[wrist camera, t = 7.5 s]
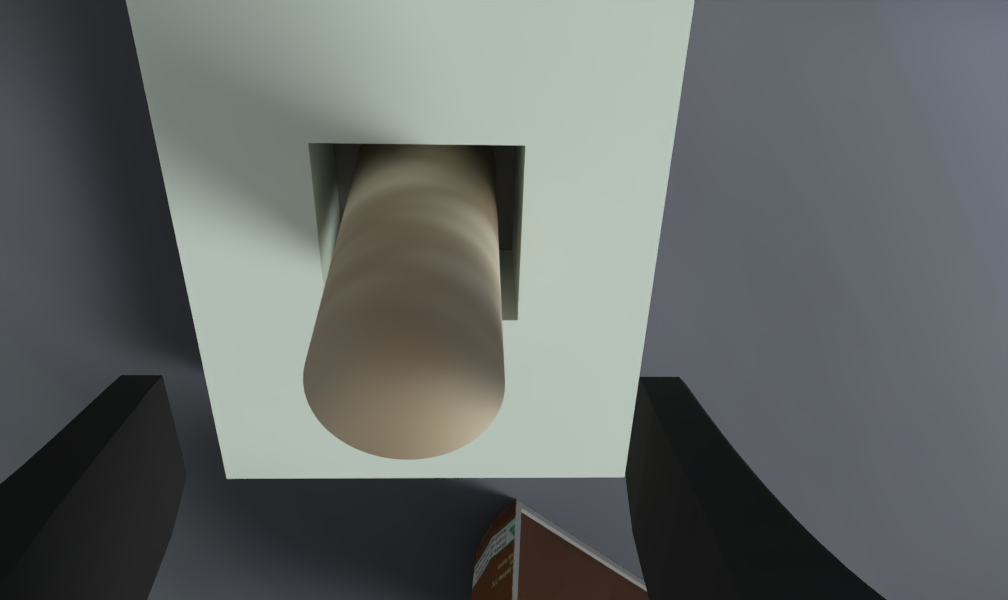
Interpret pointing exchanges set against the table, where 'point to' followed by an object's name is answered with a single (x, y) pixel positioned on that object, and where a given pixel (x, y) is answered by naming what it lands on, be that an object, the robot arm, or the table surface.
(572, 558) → the food container
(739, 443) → the table surface
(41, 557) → the robot arm
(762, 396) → the table surface
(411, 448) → the peg
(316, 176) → the socket block
